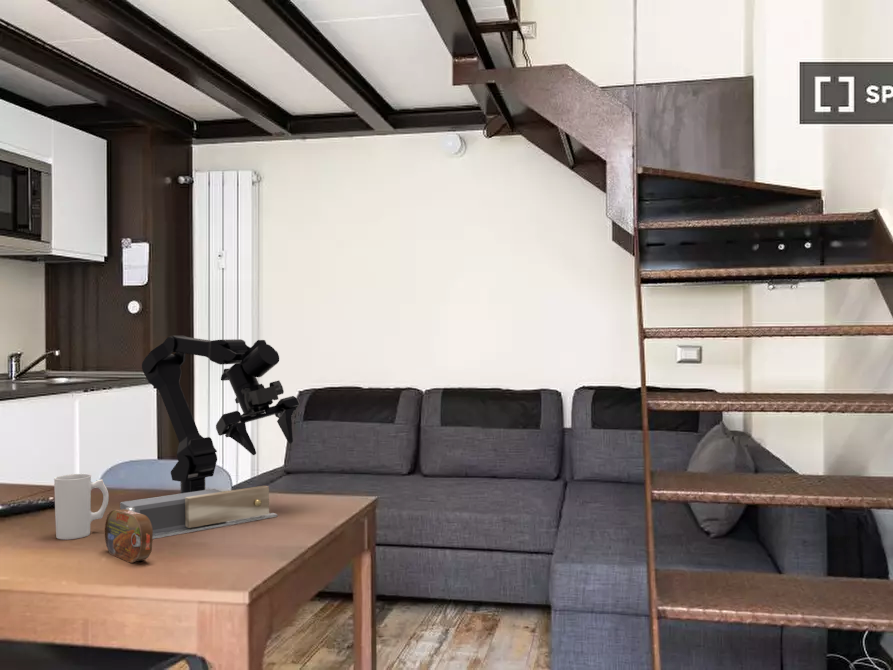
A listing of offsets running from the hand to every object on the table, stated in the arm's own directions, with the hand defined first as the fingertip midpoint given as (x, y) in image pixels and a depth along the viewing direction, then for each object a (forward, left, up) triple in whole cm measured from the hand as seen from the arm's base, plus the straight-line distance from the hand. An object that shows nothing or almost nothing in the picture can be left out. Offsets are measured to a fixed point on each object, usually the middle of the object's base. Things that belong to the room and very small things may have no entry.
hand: (273, 448), depth 168 cm
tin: (+9, -34, -15) cm, 39 cm away
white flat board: (-1, -15, -15) cm, 22 cm away
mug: (-14, -36, -15) cm, 42 cm away
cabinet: (-6, -20, -15) cm, 26 cm away
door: (-1, -10, -14) cm, 18 cm away
